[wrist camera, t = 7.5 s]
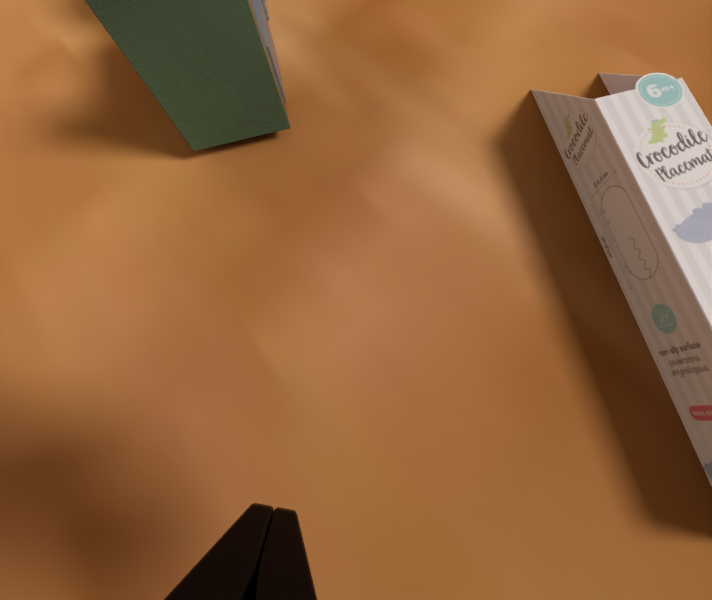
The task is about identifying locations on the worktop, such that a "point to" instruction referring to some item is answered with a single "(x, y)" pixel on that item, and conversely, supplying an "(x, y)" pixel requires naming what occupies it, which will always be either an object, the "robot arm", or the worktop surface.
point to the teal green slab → (200, 65)
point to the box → (651, 220)
